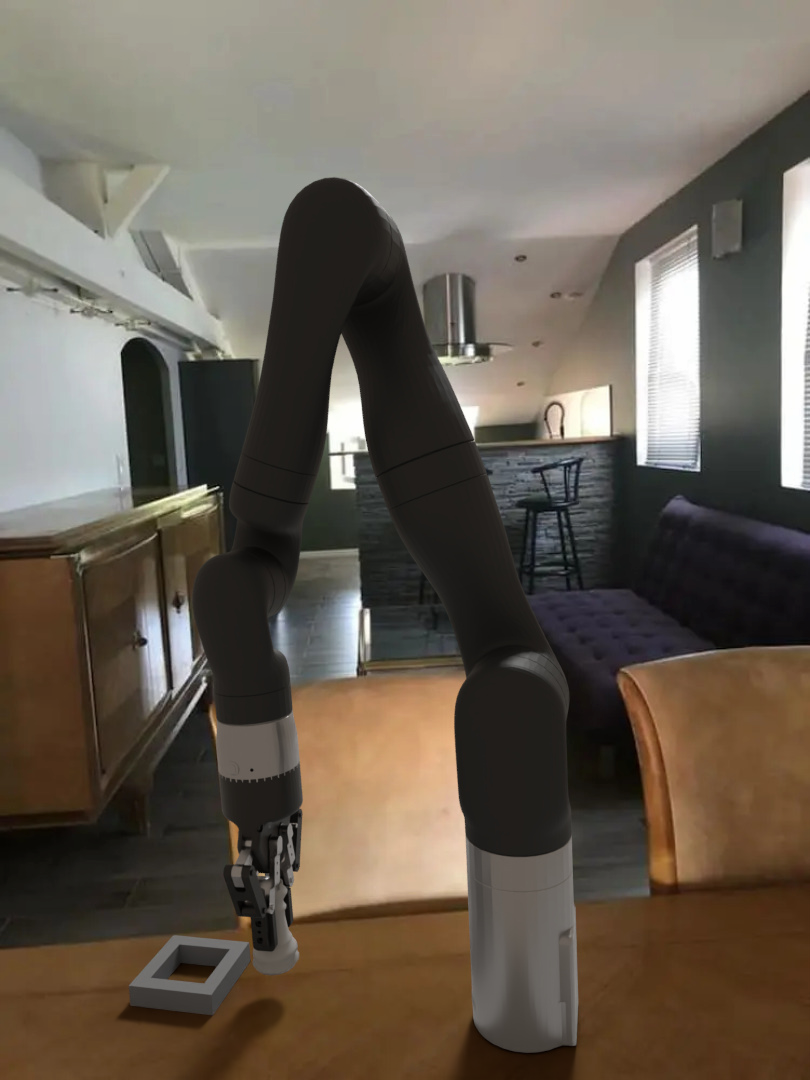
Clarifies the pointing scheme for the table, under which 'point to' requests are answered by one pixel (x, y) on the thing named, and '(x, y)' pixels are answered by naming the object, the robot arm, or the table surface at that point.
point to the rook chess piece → (287, 945)
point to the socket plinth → (190, 996)
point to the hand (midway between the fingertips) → (274, 935)
